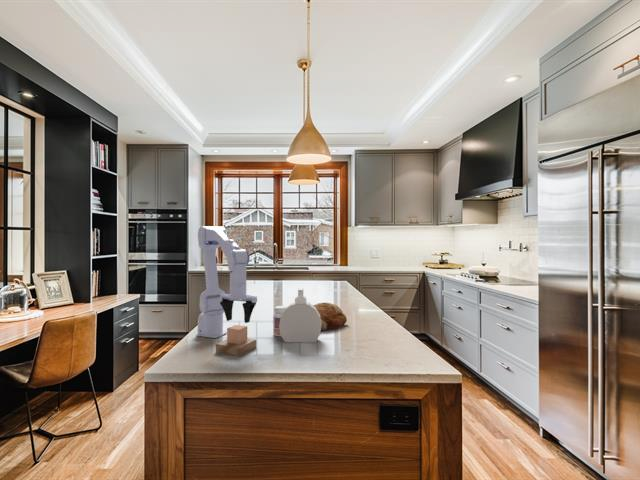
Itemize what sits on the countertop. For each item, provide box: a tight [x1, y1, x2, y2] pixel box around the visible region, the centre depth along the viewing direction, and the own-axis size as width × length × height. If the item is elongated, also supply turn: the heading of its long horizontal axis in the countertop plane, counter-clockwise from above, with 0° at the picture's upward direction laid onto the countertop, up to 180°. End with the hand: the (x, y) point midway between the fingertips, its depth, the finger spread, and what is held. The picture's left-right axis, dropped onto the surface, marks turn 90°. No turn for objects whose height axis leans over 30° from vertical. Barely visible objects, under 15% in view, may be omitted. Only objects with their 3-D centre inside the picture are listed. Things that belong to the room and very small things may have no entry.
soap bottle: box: [279, 288, 322, 344], centre depth 141 cm, size 16×5×20 cm, turn 89°
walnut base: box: [215, 337, 257, 357], centre depth 130 cm, size 10×10×3 cm
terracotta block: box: [226, 324, 248, 344], centre depth 130 cm, size 5×5×5 cm
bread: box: [312, 302, 348, 331], centre depth 165 cm, size 20×18×10 cm
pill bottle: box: [273, 305, 287, 337], centre depth 150 cm, size 6×6×11 cm
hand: (238, 321), depth 131 cm, fingers open, 7 cm apart
